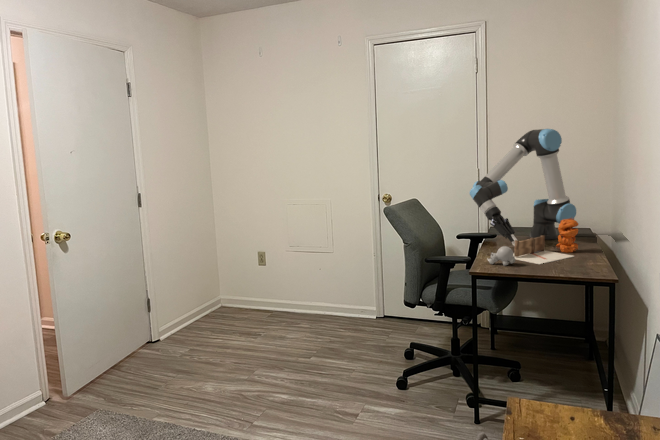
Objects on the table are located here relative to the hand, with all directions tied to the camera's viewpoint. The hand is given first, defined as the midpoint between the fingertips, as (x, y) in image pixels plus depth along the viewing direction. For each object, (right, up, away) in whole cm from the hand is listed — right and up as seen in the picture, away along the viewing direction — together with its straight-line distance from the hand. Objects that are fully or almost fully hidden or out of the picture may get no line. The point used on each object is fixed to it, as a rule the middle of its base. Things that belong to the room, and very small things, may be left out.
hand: (518, 246), depth 254 cm
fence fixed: (+11, -3, +4) cm, 12 cm away
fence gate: (+1, -4, -4) cm, 5 cm away
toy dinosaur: (+27, -3, +5) cm, 28 cm away
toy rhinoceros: (-15, -8, -18) cm, 25 cm away
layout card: (+8, -5, -4) cm, 10 cm away
